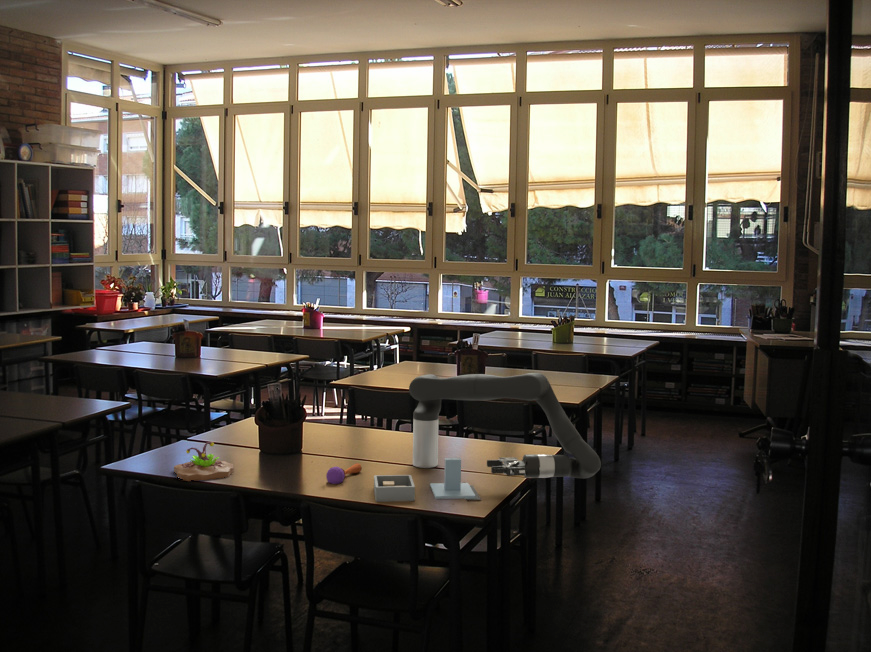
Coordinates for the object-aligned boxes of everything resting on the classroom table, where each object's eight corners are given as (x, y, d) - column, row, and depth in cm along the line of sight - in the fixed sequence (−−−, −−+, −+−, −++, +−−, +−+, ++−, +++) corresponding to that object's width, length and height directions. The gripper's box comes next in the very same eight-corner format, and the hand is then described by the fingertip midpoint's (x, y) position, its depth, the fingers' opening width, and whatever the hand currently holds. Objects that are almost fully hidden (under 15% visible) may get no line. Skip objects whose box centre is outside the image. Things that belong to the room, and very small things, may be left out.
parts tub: (373, 490, 259) (374, 475, 259) (410, 489, 261) (411, 474, 260) (375, 503, 246) (375, 487, 245) (414, 502, 247) (414, 486, 247)
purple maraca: (366, 462, 281) (341, 471, 262) (363, 478, 281) (337, 488, 263) (351, 457, 283) (325, 466, 264) (348, 473, 283) (321, 483, 265)
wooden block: (382, 490, 258) (382, 481, 257) (393, 490, 258) (393, 481, 258) (383, 493, 254) (383, 484, 254) (394, 493, 254) (394, 484, 254)
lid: (430, 486, 264) (430, 453, 263) (467, 485, 265) (468, 453, 265) (435, 499, 249) (436, 464, 249) (475, 498, 251) (476, 464, 250)
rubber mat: (431, 487, 265) (431, 485, 265) (472, 486, 266) (472, 485, 266) (436, 501, 249) (436, 500, 249) (481, 500, 250) (481, 499, 250)
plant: (238, 478, 273) (238, 446, 272) (178, 483, 265) (178, 450, 264) (228, 464, 291) (228, 434, 290) (172, 469, 283) (172, 438, 282)
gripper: (533, 449, 266) (485, 450, 265) (543, 459, 252) (493, 460, 250) (533, 471, 267) (485, 472, 265) (543, 483, 253) (492, 484, 251)
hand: (489, 466), depth 258 cm, fingers open, 8 cm apart
